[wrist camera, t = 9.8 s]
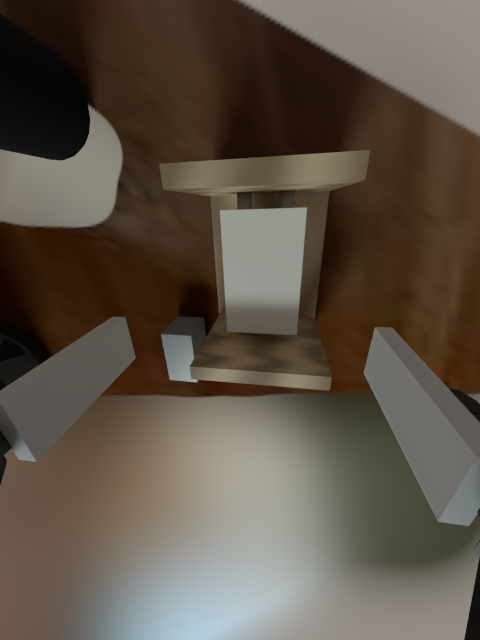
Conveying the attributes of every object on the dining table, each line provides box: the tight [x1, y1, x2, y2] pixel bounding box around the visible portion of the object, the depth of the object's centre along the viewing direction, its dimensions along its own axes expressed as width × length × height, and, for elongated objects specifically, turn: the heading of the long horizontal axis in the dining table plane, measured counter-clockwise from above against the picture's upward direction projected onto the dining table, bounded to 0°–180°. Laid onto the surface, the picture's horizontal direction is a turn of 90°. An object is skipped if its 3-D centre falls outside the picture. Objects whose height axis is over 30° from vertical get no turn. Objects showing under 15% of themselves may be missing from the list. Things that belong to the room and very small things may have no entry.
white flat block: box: [220, 207, 307, 335], centre depth 26 cm, size 8×13×3 cm, turn 2°
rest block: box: [161, 317, 206, 382], centre depth 37 cm, size 4×8×6 cm, turn 2°
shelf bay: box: [159, 150, 370, 390], centre depth 26 cm, size 14×19×14 cm
